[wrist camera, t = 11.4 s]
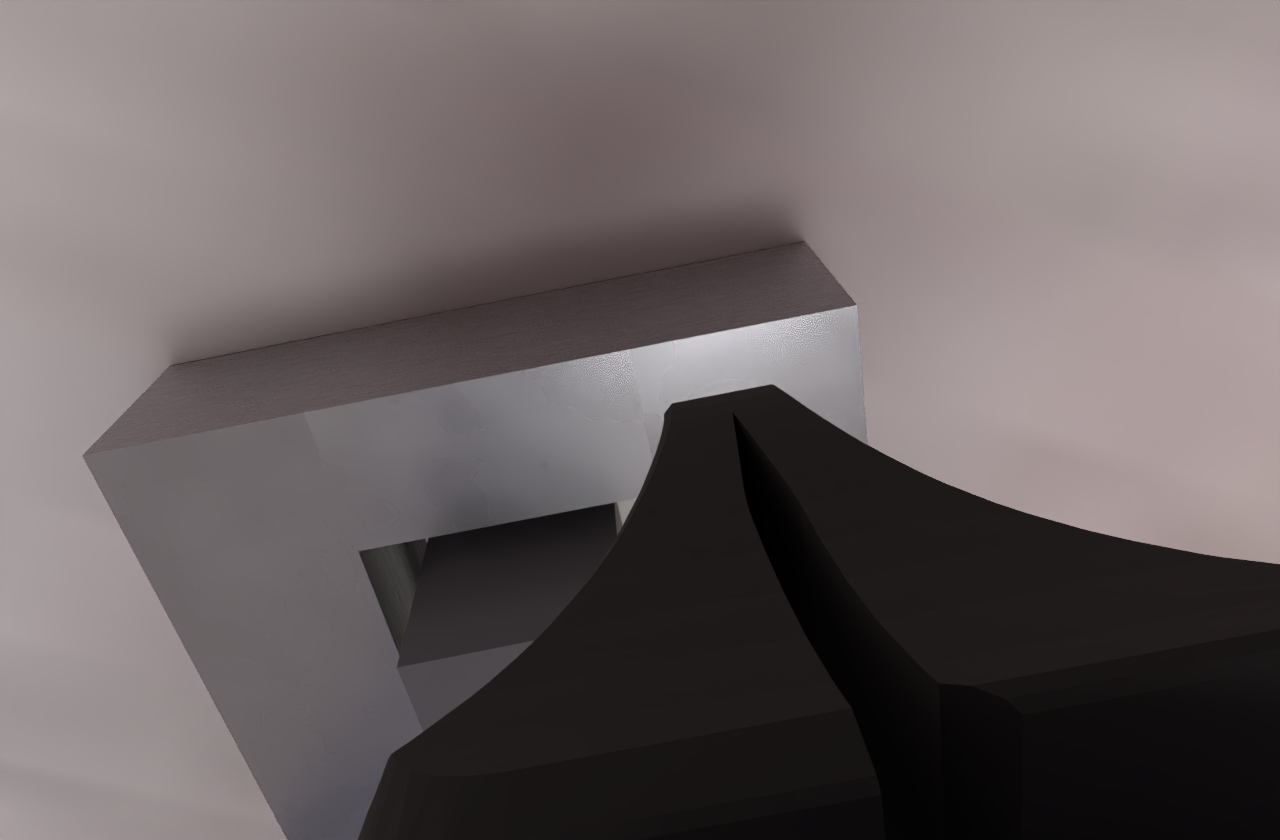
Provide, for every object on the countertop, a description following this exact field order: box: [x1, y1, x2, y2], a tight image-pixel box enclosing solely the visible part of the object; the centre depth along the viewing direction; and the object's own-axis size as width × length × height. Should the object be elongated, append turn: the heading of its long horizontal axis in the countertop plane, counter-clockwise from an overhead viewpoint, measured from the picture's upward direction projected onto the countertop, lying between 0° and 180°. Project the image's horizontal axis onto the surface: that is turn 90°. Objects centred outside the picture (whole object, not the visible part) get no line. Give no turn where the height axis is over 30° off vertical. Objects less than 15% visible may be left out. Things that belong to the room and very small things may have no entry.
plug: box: [397, 502, 623, 731], centre depth 19 cm, size 4×5×6 cm
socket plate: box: [83, 242, 867, 840], centre depth 21 cm, size 14×13×4 cm
